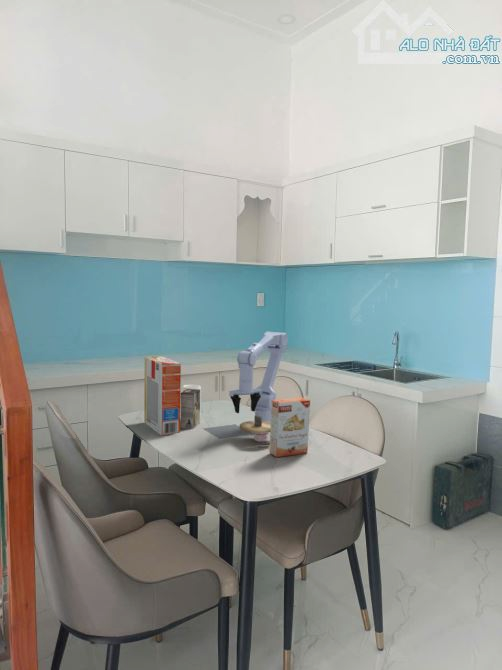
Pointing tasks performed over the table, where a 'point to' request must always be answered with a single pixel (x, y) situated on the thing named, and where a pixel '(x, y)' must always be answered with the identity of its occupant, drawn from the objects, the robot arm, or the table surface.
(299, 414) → the cracker box
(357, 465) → the table surface
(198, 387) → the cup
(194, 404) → the coffee box
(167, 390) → the pasta box
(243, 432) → the mat
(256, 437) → the teacup
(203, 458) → the table surface
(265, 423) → the lid
